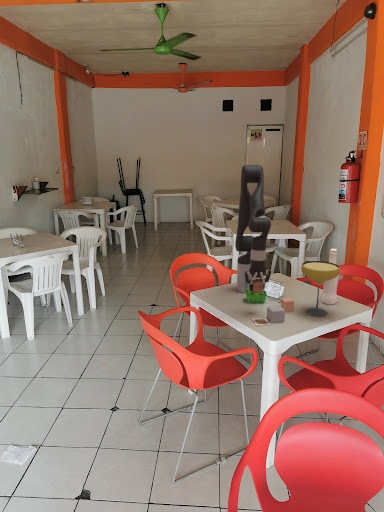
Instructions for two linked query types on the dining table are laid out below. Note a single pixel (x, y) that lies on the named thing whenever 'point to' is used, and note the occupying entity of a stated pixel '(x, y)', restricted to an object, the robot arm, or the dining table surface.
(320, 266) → the cocktail glass
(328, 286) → the bottle
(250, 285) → the robot arm
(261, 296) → the fruit basket
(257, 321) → the tile
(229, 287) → the dining table surface
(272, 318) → the grey block
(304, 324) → the dining table surface
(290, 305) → the terracotta block
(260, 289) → the walnut block
